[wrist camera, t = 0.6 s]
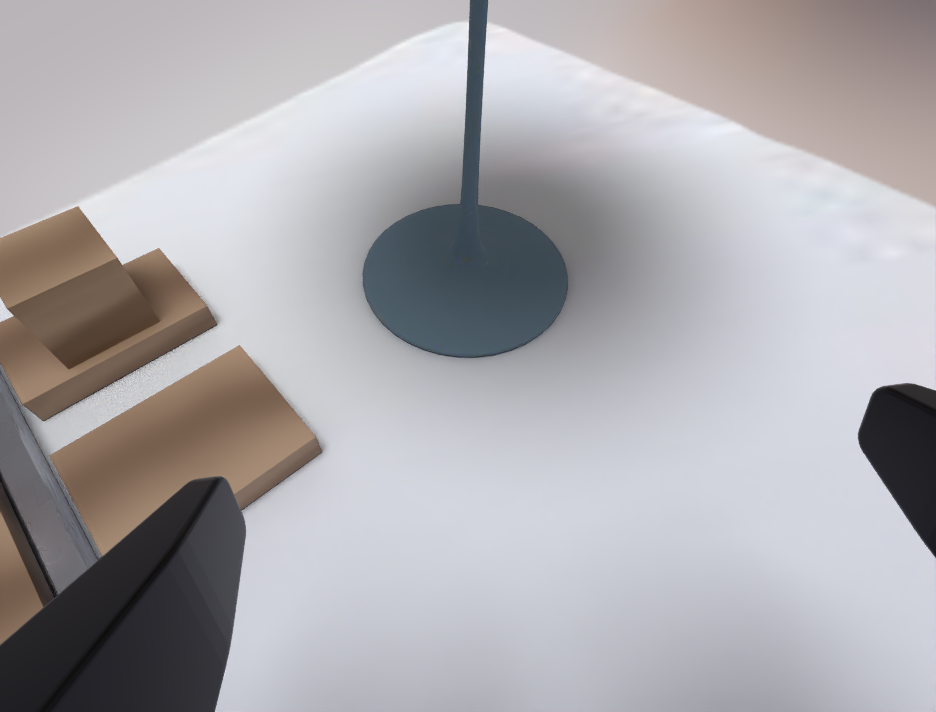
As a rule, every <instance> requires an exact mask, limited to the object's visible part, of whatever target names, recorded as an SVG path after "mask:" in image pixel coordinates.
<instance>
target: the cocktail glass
mask: <svg viewBox="0 0 936 712" xmlns="http://www.w3.org/2000/svg"><path fill="white" fill-rule="evenodd" d="M487 10H488V0H470V17H469V44H468V70H467V93H466V116H465V135H464V155H463V174H462V191H461V202H460V204H453V205H444V206H437V207H432V208H428V209H425V210H421V211H419V212H416V213H413V214H411V215H408V216H406V217H405V218H403V219H401V220H399V221H397V222H396V223H394V224H393V225H392V226H390V227H389V228H388V229H386V230H385V231H384V232H383V233H382V234H381V235H380V236H379V237H378V239H377V240H376V241H375V243H374V244H373V246H372V247H371V249H370V250H369V253H368V255H367V258H366V260H365V264H364V269H363V287H364V291H365V295H366V298H367V301H368V303H369V305H370V307H371V309H372V311H373V312H374V314H375V315H376V316H377V317H378V319H379V320H380V321H381V323H382V324H383V325H384V326H386V327H387V328H388V329H389V330H390V331H391V332H392V333H394V334H395V335H396V336H398V337H400V338H401V339H403V340H405V341H406V342H408V343H410V344H412V345H414V346H417V347H419V348H421V349H424V350H427V351H431V352H435V353H438V354H443V355H450V356H457V357H479V356H487V355H494V354H498V353H502V352H505V351H509V350H512V349H514V348H517V347H519V346H521V345H524V344H526V343H528V342H529V341H531V340H532V339H534V338H535V337H537V336H539V335H540V334H541V333H542V332H543V331H544V330H545V329H547V328H548V327H549V326H550V325H551V324H552V322H553V321H554V320H555V318H556V317H557V315H558V314H559V312H560V310H561V308H562V306H563V303H564V301H565V298H566V293H567V288H568V276H567V272H566V267H565V263H564V261H563V259H562V256H561V254H560V252H559V251H558V249H557V248H556V246H555V245H554V243H553V242H552V241H551V240H550V239H549V238H548V237H547V236H546V235H545V234H544V233H543V232H542V231H541V230H539V229H538V228H537V227H535V226H534V225H533V224H531V223H530V222H528V221H526V220H524V219H522V218H521V217H519V216H516V215H514V214H511V213H509V212H506V211H503V210H500V209H496V208H492V207H487V206H481V205H478V179H479V156H480V133H481V115H482V96H483V77H484V59H485V42H486V26H487Z"/></svg>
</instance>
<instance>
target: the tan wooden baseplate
mask: <svg viewBox="0 0 936 712" xmlns="http://www.w3.org/2000/svg"><path fill="white" fill-rule="evenodd" d="M52 599H54V597H53V595H52V593H51V590H50V588H49V586H48V584H47V582H46V580H45V577H44V575H43V573H42V571H41V569H40V567H39V564H38V562H37V560H36V558H35V556H34V554H33V551H32V549H31V547H30V545H29V543H28V541H27V538H26V536H25V534H24V532H23V530H22V528H21V525H20V523H19V521H18V519H17V517H16V515H15V512H14V510H13V508H12V506H11V504H10V502H9V500H8V497H7V495H6V493H5V491H4V489H3V487H2V484H1V482H0V644H1V643H3V642H4V641H5V640H6V639H7V638H8V637H10V636H11V635H12V634H13V633H14V632H15V631H17V630H18V629H19V628H20V627H21V626H22V625H23V624H25V623H26V622H27V621H28V620H29V619H30V618H32V617H33V616H34V615H35V614H36V613H37V612H38V611H40V610H41V609H42V608H43V607H44V606H45V605H47V604H48V603H49V602H50V601H51V600H52Z"/></svg>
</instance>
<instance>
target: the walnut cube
mask: <svg viewBox="0 0 936 712" xmlns="http://www.w3.org/2000/svg"><path fill="white" fill-rule="evenodd" d="M0 297H1V299H2V301H3V303H4V304H5V306H6V308H7V309H8V310H9V311H10V312H11V313H12V314H13V315H14V316H15V317H16V318H17V319H18V320H19V321H20V322H21V323H22V324H23V325H24V326H25V327H26V328H27V329H28V330H29V331H30V332H31V333H32V334H33V335H34V336H35V337H36V338H37V339H38V340H39V341H40V342H41V343H42V344H43V345H44V346H45V347H46V348H47V349H48V350H49V351H50V352H51V353H52V354H53V355H54V356H55V357H57V358H58V359H59V360H60V361H61V362H62V363H63V364H64V365H65V366H66V367H67V368H68V369H71V368H73V367H75V366H77V365H79V364H81V363H83V362H85V361H86V360H88V359H90V358H92V357H94V356H96V355H98V354H100V353H102V352H104V351H105V350H107V349H109V348H111V347H113V346H115V345H117V344H119V343H121V342H122V341H124V340H126V339H128V338H130V337H132V336H134V335H136V334H138V333H140V332H141V331H143V330H145V329H147V328H149V327H151V326H153V325H155V324H157V323H159V322H160V320H159V319H158V317H157V316H156V314H155V313H154V311H153V310H152V308H151V307H150V305H149V304H148V302H147V301H146V299H145V298H144V296H143V295H142V293H141V292H140V291H139V289H138V288H137V286H136V285H135V283H134V282H133V280H132V279H131V277H130V276H129V274H128V273H127V271H126V270H125V268H124V267H123V265H122V264H121V263H120V261H119V260H118V258H117V257H116V255H115V254H114V253H113V252H112V250H111V249H110V248H109V246H108V245H107V244H106V242H105V241H104V240H103V238H102V237H101V236H100V234H99V233H98V232H97V231H96V229H95V228H94V227H93V225H92V224H91V223H90V221H89V220H88V219H87V217H86V216H85V215H84V213H83V212H82V211H81V210H80V208H79V207H78V206H77V207H75V208H73V209H70V210H68V211H65V212H63V213H60V214H58V215H56V216H53V217H51V218H48V219H46V220H43V221H41V222H39V223H36V224H34V225H31V226H29V227H26V228H24V229H22V230H19V231H17V232H14V233H12V234H9V235H7V236H4V237H2V238H0Z"/></svg>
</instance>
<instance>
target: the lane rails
mask: <svg viewBox="0 0 936 712" xmlns="http://www.w3.org/2000/svg"><path fill="white" fill-rule="evenodd" d="M0 470H1V473H2V475H3V477H4V479H5V481H6V483H7V485H8V488H9V490H10V492H11V494H12V496H13V498H14V500H15V503H16V505H17V507H18V509H19V511H20V513H21V515H22V517H23V520H24V522H25V524H26V526H27V528H28V530H29V532H30V535H31V537H32V539H33V541H34V543H35V545H36V547H37V550H38V552H39V554H40V556H41V558H42V560H43V562H44V564H45V567H46V569H47V571H48V573H49V575H50V577H51V579H52V582H53V584H54V586H55V588H56V590H57V592H58V594H59V593H60V592H62V591H63V590H64V589H65V588H66V587H67V586H69V585H70V584H71V583H72V582H73V581H74V580H75V579H77V578H78V577H79V576H80V575H81V574H82V573H84V572H85V571H86V570H87V569H88V568H89V567H91V566H92V565H93V564H94V563H95V562H96V561H97V560H98V559H97V557H96V555H95V553H94V551H93V549H92V547H91V545H90V544H89V542H88V540H87V538H86V536H85V534H84V532H83V530H82V528H81V526H80V524H79V522H78V521H77V519H76V517H75V515H74V513H73V511H72V509H71V507H70V505H69V503H68V501H67V499H66V498H65V496H64V494H63V492H62V490H61V488H60V486H59V484H58V482H57V480H56V478H55V476H54V475H53V473H52V471H51V469H50V467H49V465H48V463H47V461H46V459H45V457H44V455H43V453H42V452H41V450H40V448H39V446H38V444H37V442H36V440H35V438H34V436H33V434H32V432H31V430H30V429H29V427H28V425H27V423H26V421H25V419H24V417H23V415H22V413H21V411H20V409H19V407H18V406H17V404H16V402H15V400H14V398H13V396H12V394H11V392H10V390H9V388H8V386H7V384H6V383H5V381H4V379H3V377H2V375H1V373H0Z"/></svg>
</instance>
